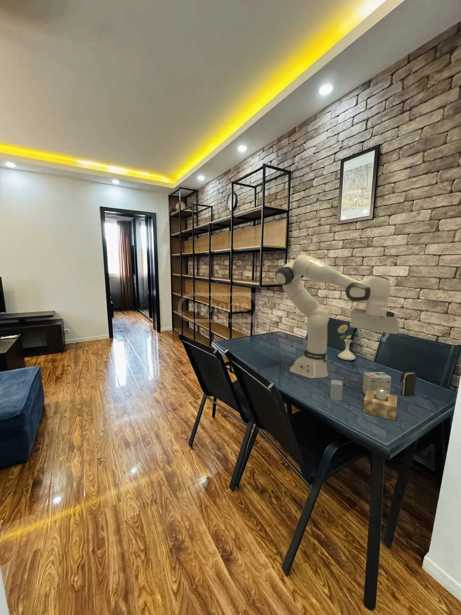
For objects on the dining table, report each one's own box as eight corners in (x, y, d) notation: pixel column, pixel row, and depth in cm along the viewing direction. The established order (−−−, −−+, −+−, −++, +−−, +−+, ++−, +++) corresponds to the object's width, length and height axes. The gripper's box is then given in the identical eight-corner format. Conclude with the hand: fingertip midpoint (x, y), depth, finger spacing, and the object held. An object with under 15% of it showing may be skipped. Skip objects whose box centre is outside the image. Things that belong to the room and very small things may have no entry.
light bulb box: (381, 391, 134) (383, 371, 132) (390, 397, 127) (392, 377, 125) (361, 391, 133) (363, 371, 132) (369, 397, 127) (370, 377, 125)
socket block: (363, 412, 114) (364, 399, 113) (366, 400, 124) (367, 389, 123) (395, 420, 107) (396, 407, 106) (395, 408, 117) (397, 396, 116)
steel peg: (374, 410, 115) (376, 389, 113) (375, 407, 118) (377, 386, 117) (384, 413, 112) (386, 392, 111) (385, 409, 116) (387, 388, 114)
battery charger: (408, 391, 134) (410, 370, 132) (415, 394, 130) (417, 373, 129) (397, 392, 132) (399, 371, 130) (404, 396, 128) (406, 374, 127)
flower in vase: (351, 356, 188) (354, 323, 185) (357, 362, 177) (360, 326, 173) (333, 355, 189) (335, 322, 186) (338, 361, 178) (340, 326, 175)
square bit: (330, 399, 125) (331, 383, 124) (330, 394, 130) (331, 379, 129) (341, 400, 124) (342, 385, 122) (340, 396, 128) (341, 381, 127)
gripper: (350, 308, 122) (347, 336, 124) (401, 314, 111) (396, 345, 113) (352, 307, 127) (349, 334, 129) (401, 312, 116) (397, 342, 118)
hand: (371, 339), depth 121 cm, fingers open, 8 cm apart
